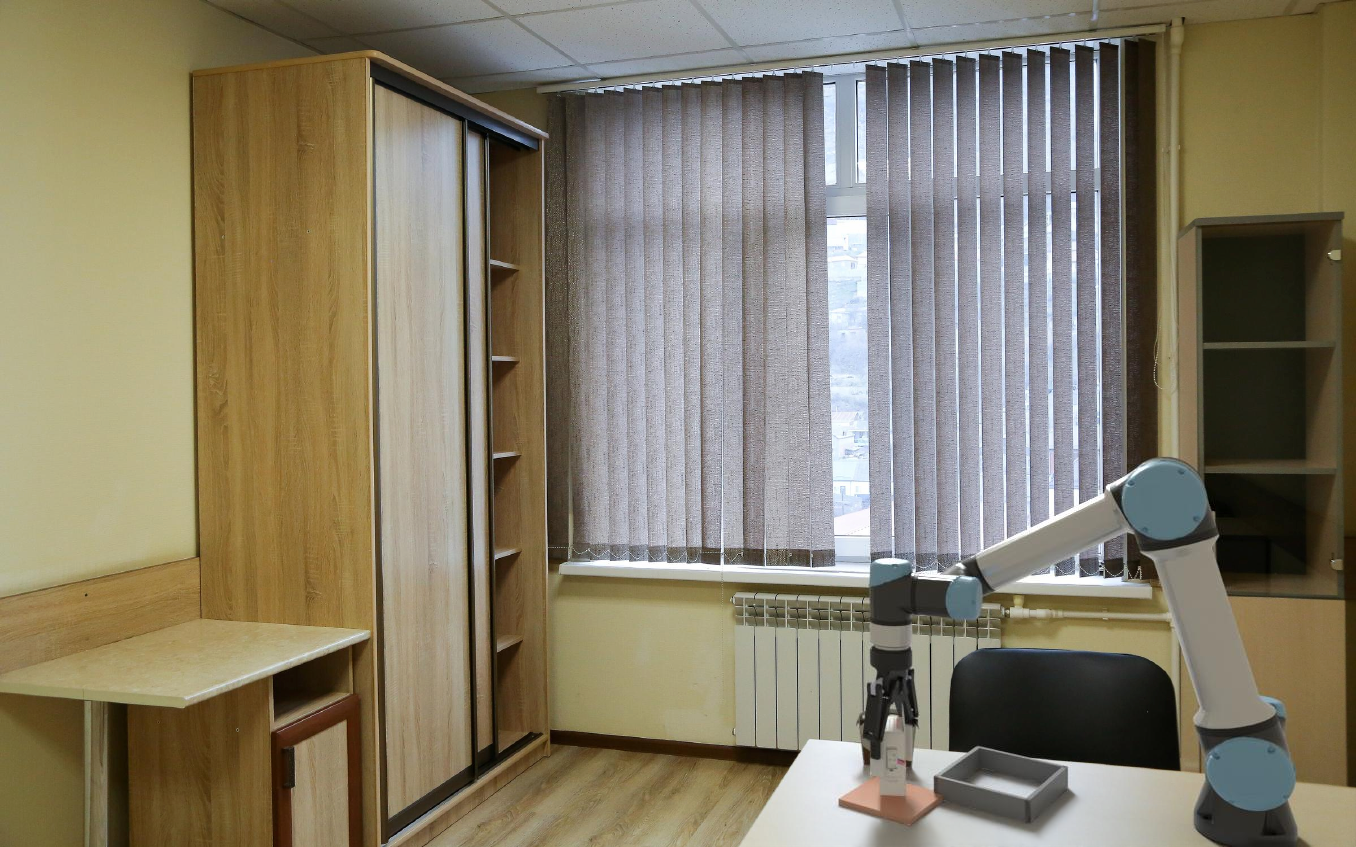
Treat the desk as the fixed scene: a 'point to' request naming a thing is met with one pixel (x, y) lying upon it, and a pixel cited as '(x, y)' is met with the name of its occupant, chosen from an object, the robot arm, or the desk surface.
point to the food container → (866, 743)
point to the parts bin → (998, 801)
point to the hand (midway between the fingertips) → (891, 766)
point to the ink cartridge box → (894, 758)
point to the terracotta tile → (891, 801)
